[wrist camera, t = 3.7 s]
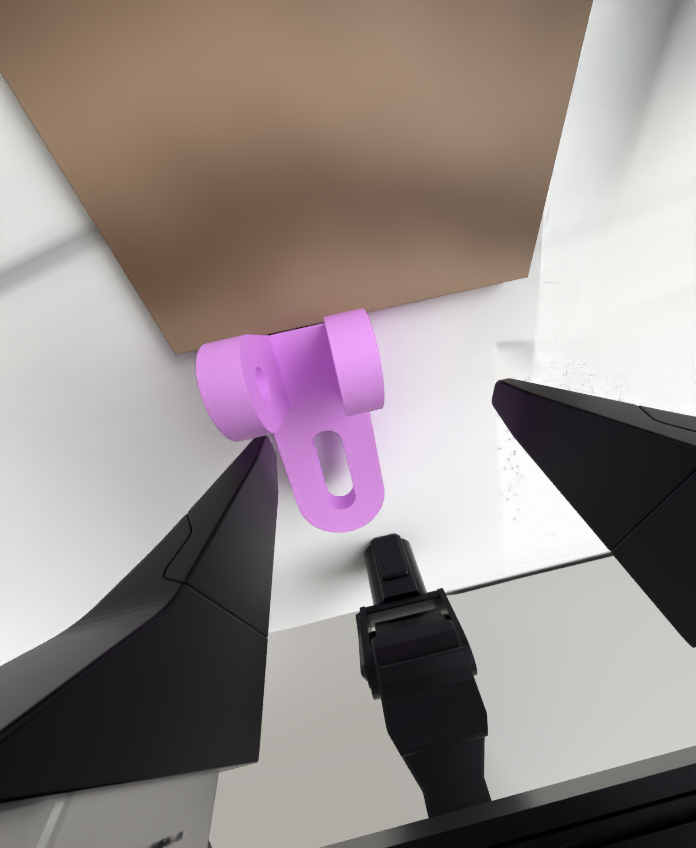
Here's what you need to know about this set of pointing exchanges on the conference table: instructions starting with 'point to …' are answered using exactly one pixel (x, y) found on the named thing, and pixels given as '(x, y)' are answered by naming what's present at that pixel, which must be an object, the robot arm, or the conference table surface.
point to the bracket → (304, 406)
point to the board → (300, 145)
